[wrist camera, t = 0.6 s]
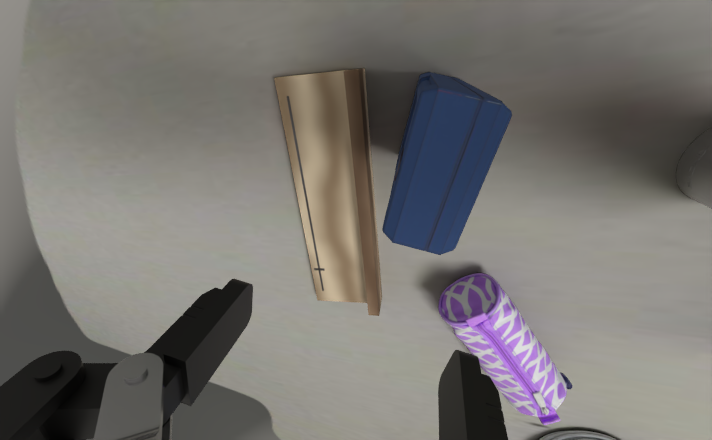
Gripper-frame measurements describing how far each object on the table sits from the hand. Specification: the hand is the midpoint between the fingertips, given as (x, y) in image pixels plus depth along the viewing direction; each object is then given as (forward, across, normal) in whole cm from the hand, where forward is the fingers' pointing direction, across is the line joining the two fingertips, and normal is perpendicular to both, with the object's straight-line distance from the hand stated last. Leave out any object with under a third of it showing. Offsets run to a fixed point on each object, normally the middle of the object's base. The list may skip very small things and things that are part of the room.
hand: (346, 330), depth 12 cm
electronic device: (+29, -2, -4) cm, 29 cm away
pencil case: (+30, -20, +22) cm, 42 cm away
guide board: (+28, +6, +10) cm, 31 cm away
